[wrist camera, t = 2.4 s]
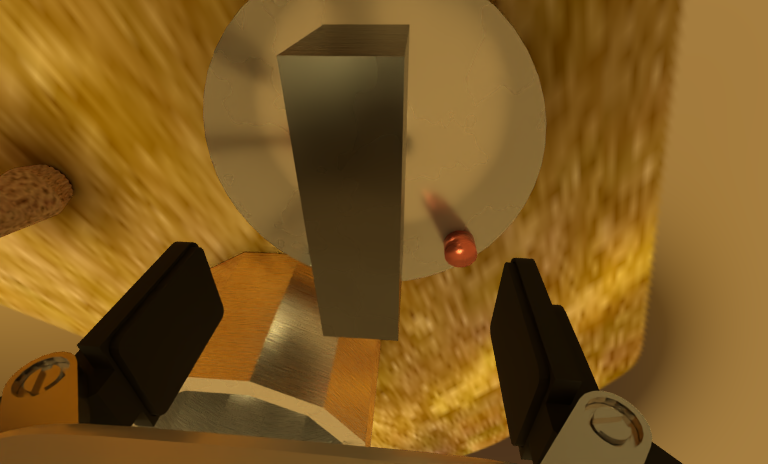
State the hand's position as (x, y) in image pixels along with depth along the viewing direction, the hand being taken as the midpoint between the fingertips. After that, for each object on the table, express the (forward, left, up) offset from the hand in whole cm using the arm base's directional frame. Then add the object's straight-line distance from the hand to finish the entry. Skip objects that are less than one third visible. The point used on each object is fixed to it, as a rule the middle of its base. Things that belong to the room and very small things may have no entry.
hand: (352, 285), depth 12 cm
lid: (-1, 0, -10) cm, 10 cm away
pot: (+14, -7, -10) cm, 19 cm away
